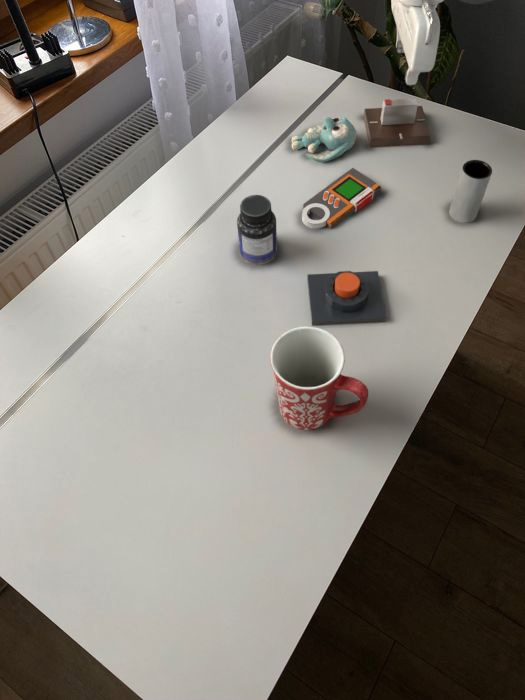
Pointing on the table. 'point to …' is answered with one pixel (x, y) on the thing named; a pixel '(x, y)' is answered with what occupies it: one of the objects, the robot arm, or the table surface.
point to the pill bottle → (257, 230)
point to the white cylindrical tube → (470, 190)
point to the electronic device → (340, 200)
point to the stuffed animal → (327, 138)
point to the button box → (345, 300)
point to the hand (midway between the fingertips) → (405, 66)
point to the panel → (396, 130)
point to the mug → (312, 378)
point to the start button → (347, 285)
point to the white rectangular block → (398, 111)
